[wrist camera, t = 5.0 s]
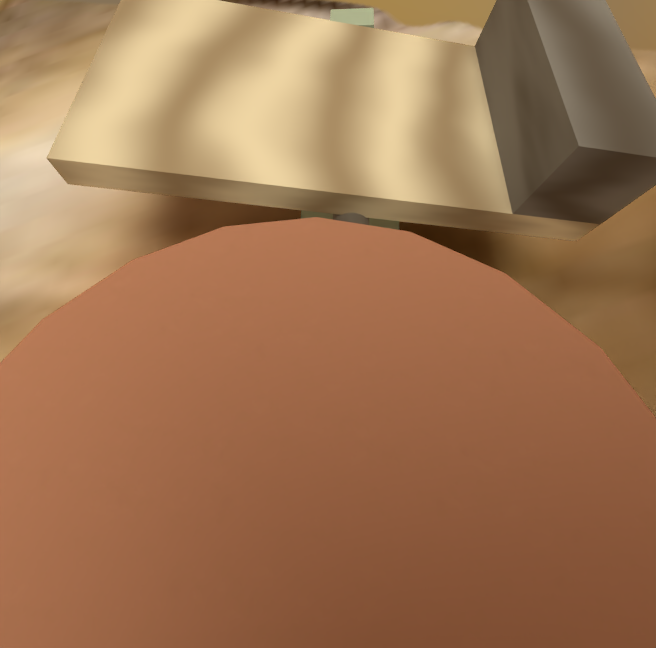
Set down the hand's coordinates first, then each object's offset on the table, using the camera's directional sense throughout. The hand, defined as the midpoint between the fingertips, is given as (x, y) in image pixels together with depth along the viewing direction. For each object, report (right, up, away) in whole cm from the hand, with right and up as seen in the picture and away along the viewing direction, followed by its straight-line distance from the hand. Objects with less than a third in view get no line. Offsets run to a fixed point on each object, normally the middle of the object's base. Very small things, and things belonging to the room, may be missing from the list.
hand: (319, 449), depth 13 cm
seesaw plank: (+1, +17, +8) cm, 19 cm away
